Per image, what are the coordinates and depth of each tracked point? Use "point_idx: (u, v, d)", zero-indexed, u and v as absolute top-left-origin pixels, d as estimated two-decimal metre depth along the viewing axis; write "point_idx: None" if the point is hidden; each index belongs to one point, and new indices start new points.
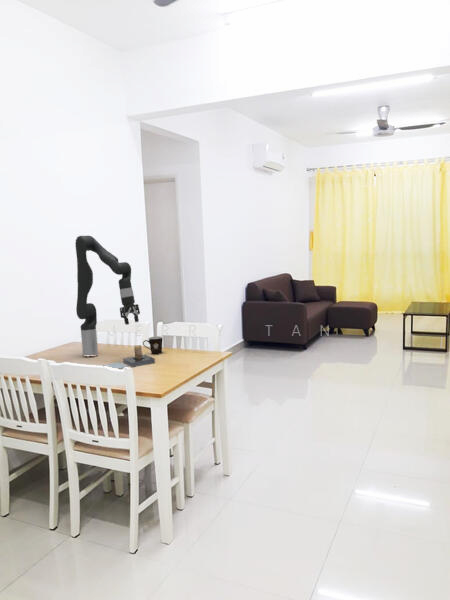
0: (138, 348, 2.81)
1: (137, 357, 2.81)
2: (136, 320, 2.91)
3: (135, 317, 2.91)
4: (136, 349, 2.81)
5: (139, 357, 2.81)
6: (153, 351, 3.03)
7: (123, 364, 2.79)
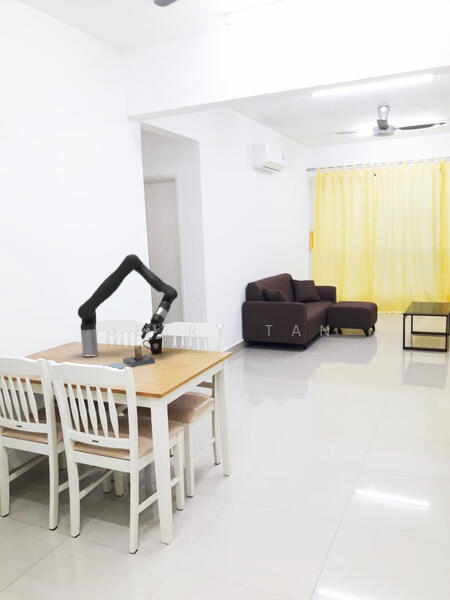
0: (138, 348, 2.81)
1: (137, 357, 2.81)
2: (143, 337, 2.92)
3: (144, 334, 2.92)
4: (136, 349, 2.81)
5: (139, 357, 2.81)
6: (153, 351, 3.03)
7: (123, 364, 2.79)
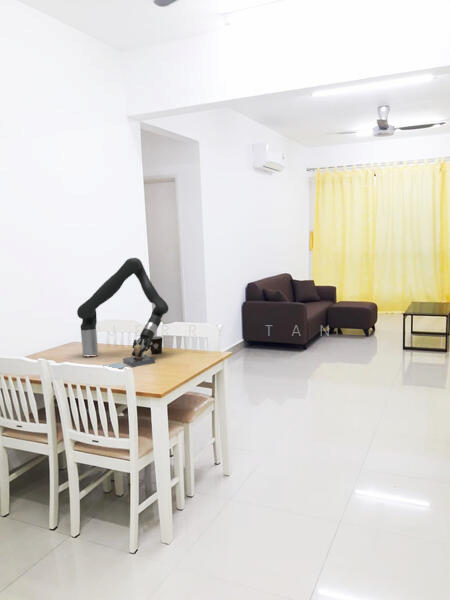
0: (138, 348, 2.81)
1: (137, 357, 2.81)
2: (134, 354, 2.83)
3: None
4: (136, 349, 2.81)
5: (139, 357, 2.81)
6: (153, 351, 3.03)
7: (123, 364, 2.79)
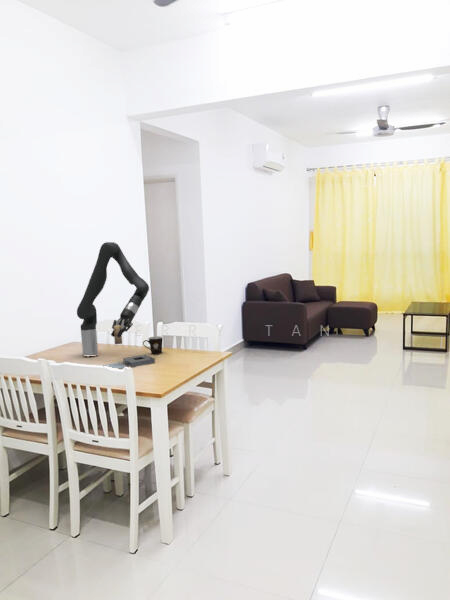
0: (118, 328, 2.74)
1: (116, 337, 2.74)
2: (113, 334, 2.76)
3: None
4: (115, 329, 2.74)
5: (119, 337, 2.74)
6: (153, 351, 3.03)
7: (123, 364, 2.79)
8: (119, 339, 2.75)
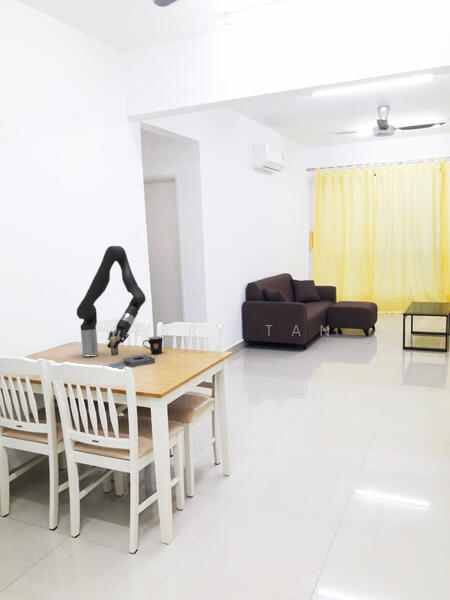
0: (113, 339, 2.73)
1: (113, 349, 2.73)
2: None
3: None
4: (111, 340, 2.73)
5: (115, 349, 2.73)
6: (153, 351, 3.03)
7: (123, 364, 2.79)
8: (115, 350, 2.74)
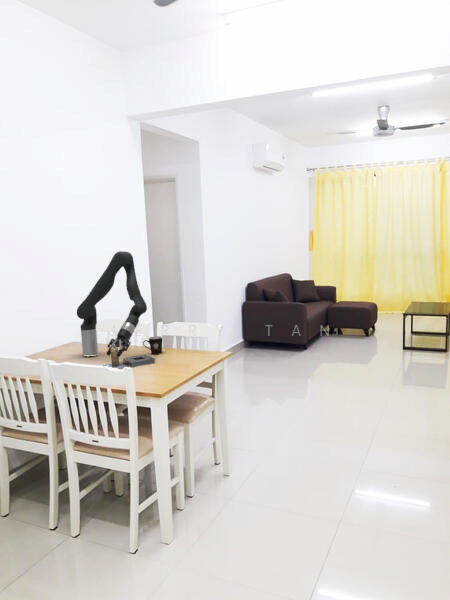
0: (114, 351, 2.73)
1: (113, 360, 2.74)
2: (109, 353, 2.77)
3: (110, 350, 2.78)
4: (112, 352, 2.73)
5: (115, 360, 2.74)
6: (153, 351, 3.03)
7: (123, 364, 2.79)
8: (116, 362, 2.74)
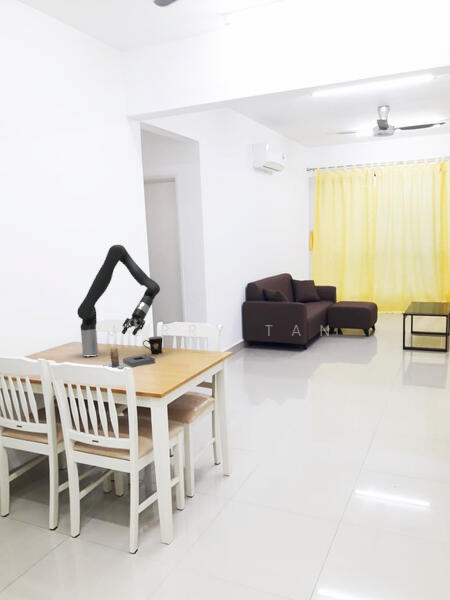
0: (114, 351, 2.73)
1: (113, 360, 2.74)
2: (124, 332, 2.87)
3: (125, 329, 2.87)
4: (112, 352, 2.73)
5: (115, 360, 2.74)
6: (153, 351, 3.03)
7: (123, 364, 2.79)
8: (116, 362, 2.74)
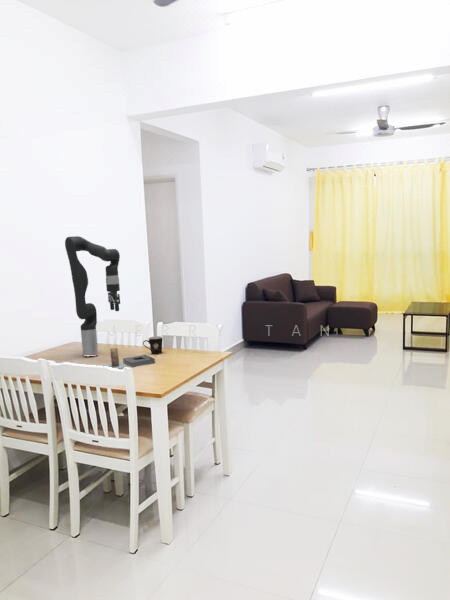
0: (114, 350, 2.74)
1: (113, 360, 2.74)
2: (112, 308, 2.93)
3: (112, 305, 2.92)
4: (112, 352, 2.74)
5: (115, 360, 2.74)
6: (153, 351, 3.03)
7: (123, 364, 2.79)
8: (116, 361, 2.74)
